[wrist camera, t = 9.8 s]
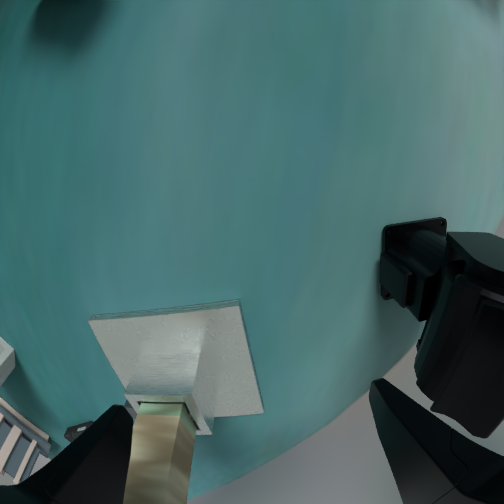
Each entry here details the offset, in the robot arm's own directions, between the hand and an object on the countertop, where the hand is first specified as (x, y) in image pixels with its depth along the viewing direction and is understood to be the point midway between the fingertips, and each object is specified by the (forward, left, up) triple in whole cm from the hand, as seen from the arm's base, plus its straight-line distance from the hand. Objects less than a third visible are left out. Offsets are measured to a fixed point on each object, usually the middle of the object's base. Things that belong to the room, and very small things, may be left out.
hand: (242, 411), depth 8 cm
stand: (+8, +10, -13) cm, 18 cm away
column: (+8, +10, -7) cm, 15 cm away
